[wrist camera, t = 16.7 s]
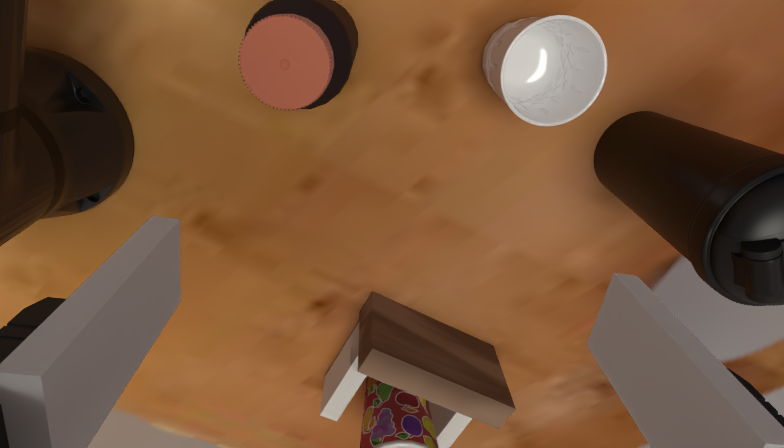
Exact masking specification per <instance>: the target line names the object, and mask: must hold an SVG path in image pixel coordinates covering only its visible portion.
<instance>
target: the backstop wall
mask: <svg viewBox="0 0 784 448" xmlns="http://www.w3.org/2000/svg"><path fill="white" fill-rule="evenodd" d="M358 372H360V373H362V374H364V375H367V376H369V377H372V378H374V379H377V380H379V381H382V382H384V383H386V384H389V385H391V386H394V387H396V388H399V389H401V390H404V391H406V392H409V393H411V394H413V395H416V396H418V397H421V398H423V399H426V400H428V401H431V402H433V403H435V404H438V405H440V406H443V407H445V408H448V409H450V410H453V411H455V412H457V413H460V414H462V415H465V416H467V417H470V418H472V419H475V420H477V421H480V422H482V423H484V424H487V425H489V426H492V427H494V428H497V429H500V427H501V426H502V425H503V424H504V422H505V421H506V420H507V419H508V418H509V416H510V415H511V414H512V413H513V412H514V410H515V406H514V403H513V400H512V397H511V394H510V392H509V389H508V386H507V383H506V380H505V377H504V375H503V372H502V369H501V366H500V363H499V361H498V358H497V355H496V352H495V349H494V346H492V345H490V344H488V343H486V342H483V341H481V340H479V339H477V338H474V337H472V336H470V335H468V334H466V333H463V332H461V331H459V330H457V329H455V328H452V327H450V326H448V325H446V324H443V323H441V322H439V321H437V320H435V319H432V318H430V317H428V316H426V315H424V314H421V313H419V312H417V311H415V310H412V309H410V308H408V307H406V306H404V305H401V304H399V303H397V302H395V301H393V300H390V299H388V298H386V297H384V296H381V295H379V294H377V293H375V292H373V291H372V293H371V295H370V296H369V298H368V299H367V301H366V303H365V304H364V306H363V308H362V309H361V311H360V321H359V347H358Z"/></svg>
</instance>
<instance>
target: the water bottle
mask: <svg viewBox="0 0 784 448" xmlns="http://www.w3.org/2000/svg"><path fill="white" fill-rule="evenodd" d="M594 168H595V172H596V175H597V177H598V179H599V180H600V181H601V183H602V184H603V185H604V186H605V187H607V188H608V189H609V190H610V191H611V192H612V193H613V194H614V195H616V196H617V197H618V198H619V199H620V200H621V201H622V202H623V203H625V204H626V205H627V206H628V207H629V208H630V209H631V210H633V211H634V212H635V213H636V214H637V215H638V216H639V217H640V218H642V219H643V220H644V221H645V222H646V223H647V224H648V225H649V226H651V227H652V228H653V229H654V230H655V231H656V232H657V233H658V234H660V235H661V236H662V237H663V238H664V239H665V240H666V241H668V242H669V243H670V244H671V245H672V246H673V247H674V248H675V249H677V250H678V251H679V252H680V253H681V254H682V255H683V256H684V257H686V258H687V259H688V260H689V261H690V262H691V263H692V265H693V267H694V269H695V271H696V272H697V274H698V275H699V276H700V278H701V279H702V280H703V281H705V282H706V283H707V284H708V285H709V286H710V287H712V288H713V289H714V290H715V291H717V292H718V293H720V294H721V295H722V296H724V297H726V298H728V299H730V300H732V301H734V302H737V303H740V304H745V305H752V306H766V305H784V154H780V153H777V152H774V151H771V150H768V149H765V148H762V147H759V146H756V145H753V144H750V143H747V142H744V141H741V140H738V139H734V138H731V137H728V136H725V135H722V134H719V133H716V132H713V131H710V130H707V129H704V128H701V127H698V126H694V125H691V124H688V123H685V122H682V121H679V120H676V119H673V118H670V117H667V116H664V115H661V114H658V113H654V112H648V111H642V112H635V113H632V114H629V115H626V116H624V117H622V118H620V119H619V120H617V121H616V122H614V123H613V124H612V125H611V126H610V127H609V128H608V129H607V130H606V131H605V132H604V134H603V135H602V136H601V138H600V140H599V142H598V144H597V147H596V150H595V154H594Z"/></svg>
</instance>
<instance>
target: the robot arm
mask: <svg viewBox="0 0 784 448" xmlns="http://www.w3.org/2000/svg"><path fill="white" fill-rule="evenodd" d="M27 14H28V0H0V246H1V245H2V244H4V243H5V242H7V241H8V240H10V239H11V238H13V237H14V236H16V235H17V234H19V233H20V232H21V231H23V230H24V229H26V228H27V227H29V226H30V225H32V224H33V223H34V222H36V221H37V220H39V219H45V218H52V217H59V216H66V215H72V214H77V213H80V212H83V211H86V210H88V209H91V208H93V207H95V206H96V205H98V204H100V203H101V202H102V201H104V200H105V199H107V198H108V197H109V196H111V195H112V194H113V193H114V192H115V191H117V190H118V189H119V187H120V186H121V185H122V184H123V182H124V181H125V179H126V177H127V176H128V173H129V171H130V168H131V165H132V161H133V155H134V141H133V134H132V129H131V125H130V122H129V119H128V117H127V114H126V112H125V110H124V108H123V106H122V105H121V103H120V101H119V100H118V98H117V97H116V95H115V94H114V93H113V91H112V90H111V89H110V88H109V87H108V86H107V84H106V83H105V82H104V81H103V80H102V79H101V78H99V77H98V76H97V75H96V74H95V73H94V72H92V71H91V70H90V69H88V68H87V67H85V66H84V65H82V64H81V63H79V62H77V61H76V60H74V59H72V58H70V57H67V56H65V55H63V54H60V53H57V52H54V51H50V50H46V49H40V48H28V47H26V48H25V46H26V30H27ZM180 301H181V282H180V219H173V218H165V217H157V216H151V217H150V218H149V219H148V220H147V221H146V222H145V223H144V224H143V225H142V226H141V227H140V228H139V229H138V230H137V231H136V232H135V233H134V234H133V235H132V236H131V237H130V238H129V239H128V240H127V241H126V242H125V243H124V244H123V245H122V246H121V247H120V248H119V249H118V250H117V251H116V252H115V253H113V254H112V255H111V256H110V257H109V258H108V259H107V260H106V261H105V262H104V263H103V264H102V265H101V266H100V267H99V268H98V269H97V270H96V271H95V272H94V273H93V274H92V275H91V276H90V277H89V278H88V279H87V280H86V281H85V282H84V283H83V284H82V285H81V286H80V287H79V288H78V289H76V290H75V291H74V292H73V293H72V294H71V295H70V296H69V297H68V298H67V299H62V298H52V297H47V298H45V299H43V300H41V301H39V302H37V303H35V304H32V305H30V306H28V307H26V308H24V309H23V310H22V311H21V312H20V313H18V314H17V315H16V316H15V317H14V318H13V319H12V320H11V321H9V322H8V323H7V326H4V327H3V328H1V329H0V448H87V447H88V445H89V444H90V442H91V441H92V439H93V437H94V436H95V434H96V433H97V431H98V430H99V428H100V426H101V425H102V423H103V422H104V420H105V419H106V417H107V415H108V414H109V412H110V411H111V409H112V408H113V406H114V405H115V403H116V401H117V400H118V398H119V397H120V395H121V394H122V392H123V391H124V389H125V387H126V386H127V384H128V383H129V381H130V380H131V378H132V376H133V375H134V373H135V372H136V370H137V369H138V367H139V365H140V364H141V362H142V361H143V359H144V358H145V356H146V355H147V353H148V351H149V350H150V348H151V347H152V345H153V344H154V342H155V340H156V339H157V337H158V336H159V334H160V333H161V331H162V329H163V328H164V326H165V325H166V323H167V322H168V320H169V319H170V317H171V315H172V314H173V312H174V311H175V309H176V308H177V306H178V304H179V303H180ZM587 346H588V348H589V350H590V351H591V353H592V354H593V356H594V358H595V359H596V361H597V362H598V364H599V366H600V367H601V369H602V370H603V372H604V374H605V375H606V377H607V378H608V380H609V381H610V383H611V385H612V386H613V388H614V389H615V391H616V393H617V394H618V396H619V397H620V399H621V401H622V402H623V404H624V405H625V407H626V409H627V410H628V412H629V413H630V415H631V417H632V418H633V420H634V421H635V423H636V425H637V426H638V428H639V429H640V431H641V433H642V434H643V436H644V437H645V439H646V441H647V442H648V444H649V445H650V447H651V448H784V417H783V416H782V415H778V411H777V410H776V409H775V408H774V407H773V406H772V405H771V404H770V403H769V402H765V398H764V397H763V396H762V395H761V394H760V393H759V392H758V391H757V390H756V389H755V388H754V387H753V386H752V385H751V384H750V383H749V382H747V381H746V380H744V379H743V378H742V377H740V376H739V375H737V374H736V373H734V372H733V371H731V370H730V369H729V368H726V367H725V366H724V365H723V364H722V363H721V362H720V361H719V360H718V359H717V358H716V357H715V356H714V355H713V354H712V353H711V352H710V351H709V350H708V349H707V348H706V347H705V346H704V345H703V344H702V343H701V342H700V340H699V339H698V338H697V337H696V336H695V335H694V334H693V333H692V332H691V331H690V330H689V329H688V328H687V327H686V326H685V325H684V324H683V323H682V322H681V321H680V320H679V319H678V318H677V317H676V316H675V315H674V314H673V313H672V312H671V311H670V309H669V308H668V307H667V306H666V305H665V304H664V303H663V302H662V301H661V300H660V299H659V298H658V297H657V296H656V295H655V294H654V293H653V292H652V291H651V290H650V289H649V288H648V287H647V286H646V285H645V284H644V283H643V282H642V281H641V279H640V278H639V277H638V276H634V275H626V274H618V273H614V274H613V276H612V279H611V282H610V284H609V287H608V290H607V292H606V295H605V298H604V300H603V303H602V306H601V308H600V311H599V314H598V316H597V319H596V322H595V324H594V327H593V330H592V332H591V335H590V338H589V340H588V343H587Z"/></svg>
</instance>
